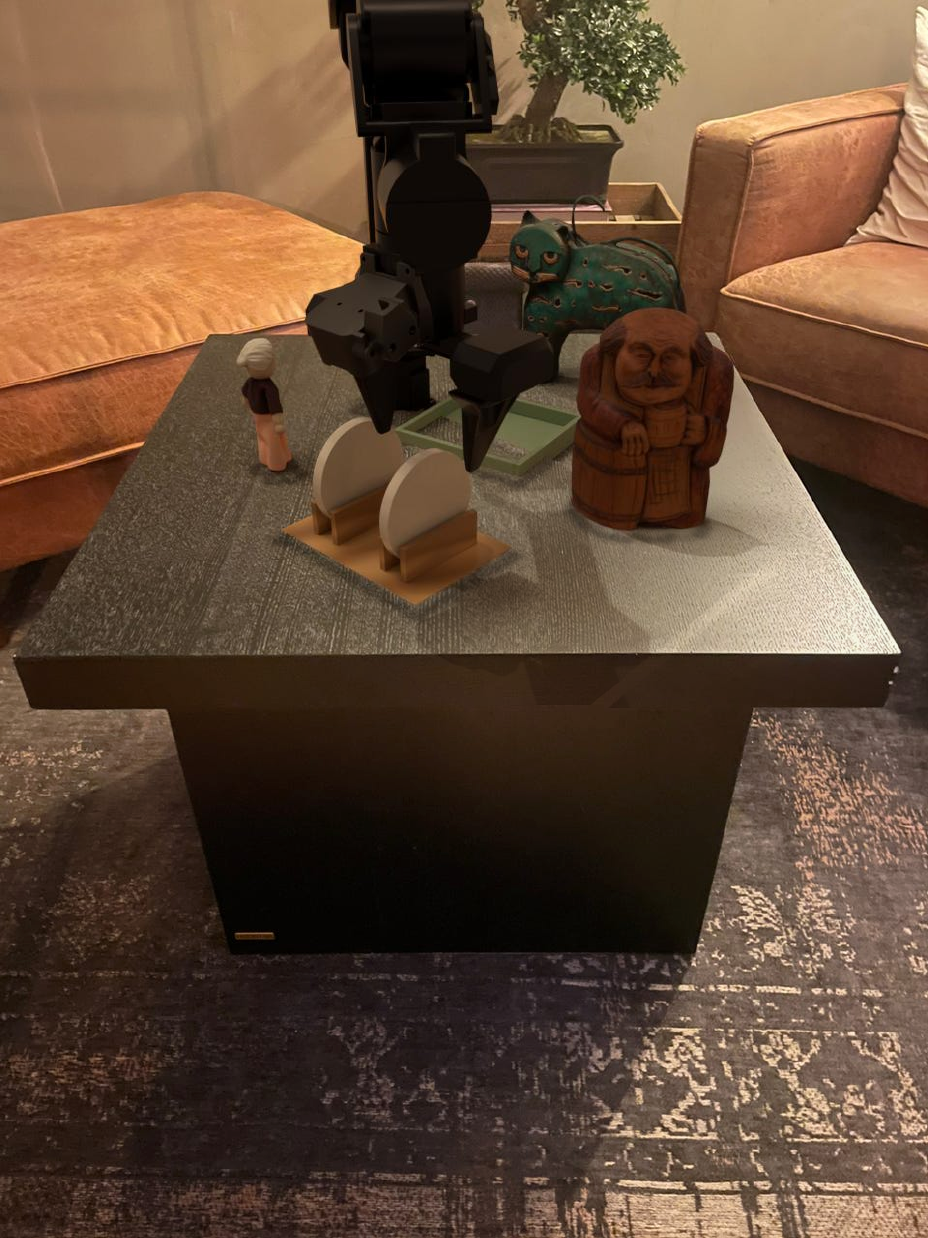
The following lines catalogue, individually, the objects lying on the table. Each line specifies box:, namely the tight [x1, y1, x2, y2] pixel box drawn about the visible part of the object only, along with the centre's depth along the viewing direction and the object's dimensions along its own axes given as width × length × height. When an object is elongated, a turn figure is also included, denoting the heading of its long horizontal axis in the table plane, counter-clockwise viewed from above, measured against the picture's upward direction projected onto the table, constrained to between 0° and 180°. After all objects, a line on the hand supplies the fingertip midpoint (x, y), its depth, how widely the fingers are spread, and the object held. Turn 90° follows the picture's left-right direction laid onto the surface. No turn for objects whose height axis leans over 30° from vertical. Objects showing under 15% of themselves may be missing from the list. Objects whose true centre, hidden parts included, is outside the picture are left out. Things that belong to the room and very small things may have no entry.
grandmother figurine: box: [235, 337, 293, 472], centre depth 83 cm, size 8×4×13 cm, turn 47°
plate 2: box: [379, 448, 472, 559], centre depth 70 cm, size 1×9×9 cm, turn 137°
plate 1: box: [312, 416, 405, 519], centre depth 75 cm, size 1×9×9 cm, turn 137°
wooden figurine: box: [571, 308, 735, 531], centre depth 74 cm, size 12×6×18 cm, turn 89°
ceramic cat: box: [508, 194, 688, 377], centre depth 97 cm, size 20×6×20 cm, turn 58°
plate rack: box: [280, 483, 513, 606], centre depth 75 cm, size 16×11×4 cm
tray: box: [393, 395, 581, 478], centre depth 91 cm, size 14×13×2 cm
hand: (426, 450), depth 68 cm, fingers open, 9 cm apart
